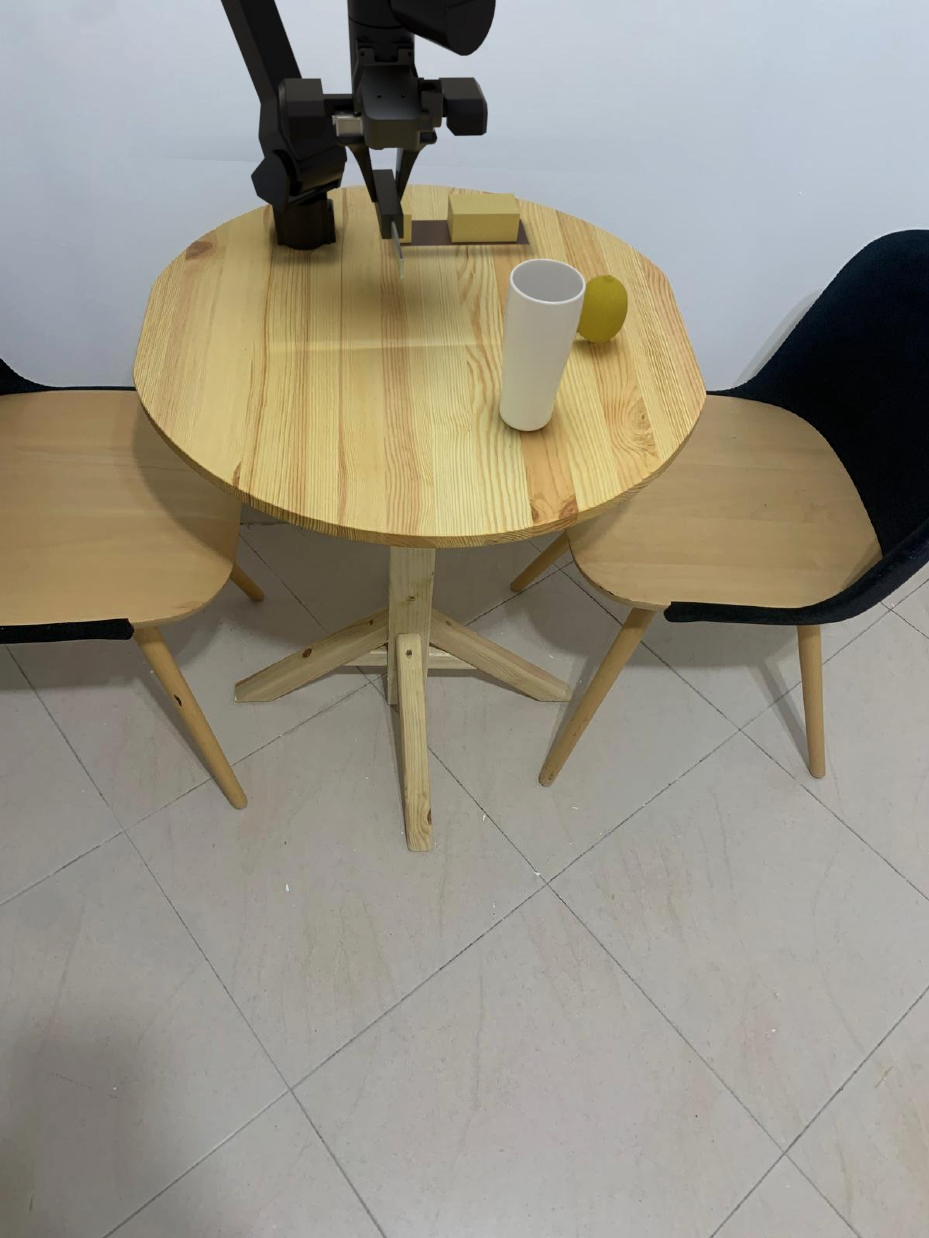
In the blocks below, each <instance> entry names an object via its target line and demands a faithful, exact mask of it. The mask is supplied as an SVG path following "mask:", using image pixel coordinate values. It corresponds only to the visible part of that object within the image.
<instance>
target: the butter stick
mask: <svg viewBox="0 0 929 1238" xmlns="http://www.w3.org/2000/svg"><path fill="white" fill-rule="evenodd" d="M520 211H521V210H520V209H519V205H518V202H517V200H516V197H515V194H514V192H513V193H512V192H510V193H509V192H504V193H503V192H502V193H493V192H492V193H491V192H490V193H448V196H447V215H446V218H447V219H446V220H447V223H448V228H449V232H450V236H451V241H452V242H513V241H517V235H518V227H519V219H521V218H520V217H521V212H520Z"/></svg>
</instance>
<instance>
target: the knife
mask: <svg viewBox="0 0 929 1238" xmlns="http://www.w3.org/2000/svg"><path fill="white" fill-rule="evenodd" d="M372 170H373V176H374V182H375V188H376V203H373V205H374V209H375V214H376V218H377V224H378V228H379V232H380V238H381V240H391V244H392V248H393V252H394V257H395V263H396V266H397V271H398V276H399V280H404V268H405V267H404V256H403V252H402V248H401V247H402V246H400V243H399V239H403V238H404V214H403V210H402V206H401V202H400V198H399V194H398V190H397V187H396V183H395V174H394V171H393V169H392V168H386V169H385V168H381V169H379V168H378V169H374V168H373V169H372Z"/></svg>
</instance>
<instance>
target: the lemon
mask: <svg viewBox="0 0 929 1238" xmlns="http://www.w3.org/2000/svg"><path fill="white" fill-rule="evenodd" d="M585 283H586V289H585V295H584V302H583V307H582V312H581V317H580V321H579V325H578V329H577V332H578V333H579V335H580V336H581V337H582V338H583V339H584V340H586V341H588V342H590V343H591V344H599V343H605V342H608V341H610V340H612V339H614V338H615V337H616V336H617V335H618V334H619V333H620V331H621V329H622V328H623V327H624V324H625V321H626V319H627V316H628V315H627V314H628V307H629V299H628V297H629V296H628V292H627V290H626V287H625V285H624V284H623V283H622V281H620V280H619V279H618V278H617V277H614V276H612V275H611V274H602V275H598V276H595V277H593V278H592V279H590V280H588V281H587V282H585Z"/></svg>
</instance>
